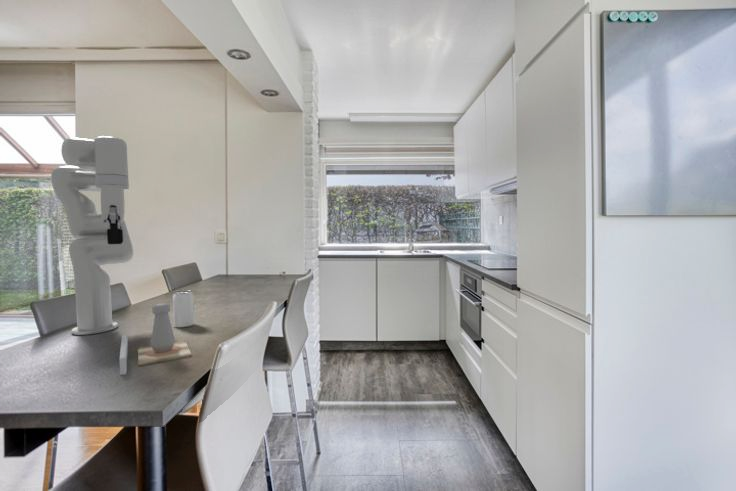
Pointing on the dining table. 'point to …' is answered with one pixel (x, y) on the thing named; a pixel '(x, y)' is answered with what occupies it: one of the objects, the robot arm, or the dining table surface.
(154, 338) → the salt shaker
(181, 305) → the can
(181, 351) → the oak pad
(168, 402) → the dining table surface
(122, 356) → the acrylic wall
